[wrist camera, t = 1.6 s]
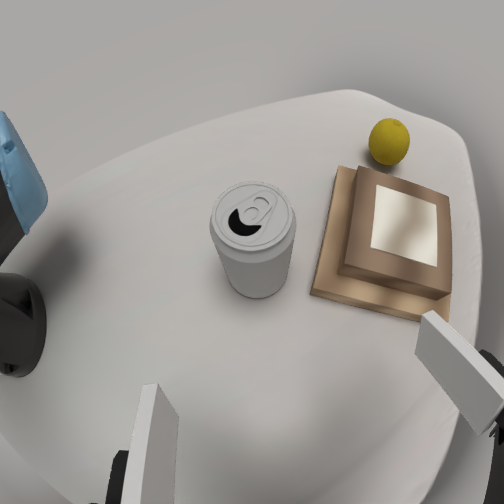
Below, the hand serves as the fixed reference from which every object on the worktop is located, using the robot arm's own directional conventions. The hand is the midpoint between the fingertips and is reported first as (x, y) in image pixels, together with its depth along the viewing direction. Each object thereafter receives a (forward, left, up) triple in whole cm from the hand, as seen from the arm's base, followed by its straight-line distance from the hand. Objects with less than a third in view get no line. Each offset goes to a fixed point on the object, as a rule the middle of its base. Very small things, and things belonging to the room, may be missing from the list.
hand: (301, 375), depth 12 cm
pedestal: (+8, +16, -15) cm, 24 cm away
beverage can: (-6, +9, -16) cm, 19 cm away
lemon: (+7, +30, -16) cm, 34 cm away
